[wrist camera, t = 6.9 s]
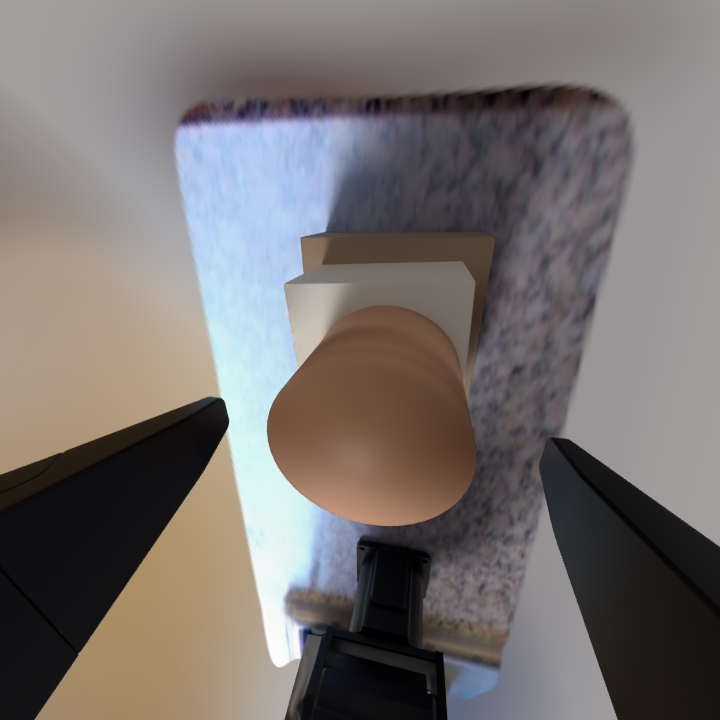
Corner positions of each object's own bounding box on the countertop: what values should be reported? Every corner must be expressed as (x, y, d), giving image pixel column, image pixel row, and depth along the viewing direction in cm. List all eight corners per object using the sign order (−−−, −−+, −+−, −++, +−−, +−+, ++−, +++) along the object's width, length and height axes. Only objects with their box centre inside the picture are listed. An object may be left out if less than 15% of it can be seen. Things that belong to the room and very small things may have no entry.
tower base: (459, 371, 19) (466, 408, 15) (335, 361, 20) (315, 393, 17) (480, 231, 15) (495, 237, 12) (327, 231, 17) (300, 237, 13)
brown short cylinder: (450, 438, 11) (460, 541, 8) (323, 422, 12) (281, 508, 9) (470, 308, 9) (496, 371, 6) (313, 301, 10) (250, 351, 7)
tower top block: (451, 388, 15) (457, 443, 11) (334, 381, 16) (307, 429, 13) (462, 261, 12) (475, 281, 9) (321, 264, 13) (283, 284, 10)
